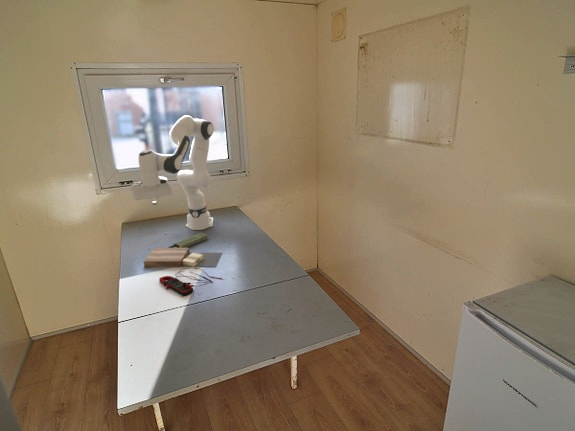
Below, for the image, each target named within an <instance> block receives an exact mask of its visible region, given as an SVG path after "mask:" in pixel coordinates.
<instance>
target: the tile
mask: <svg viewBox="0 0 575 431" xmlns="http://www.w3.org/2000/svg"><path fill="white" fill-rule="evenodd" d="M191 253H192V254H189V256H188V257H186V258H185V259H184V260H182V264H183V265H186V266H192V267H191V268H195V267H194V266H195V265H197V264H198V263H199V262H200V261H201V260H203V259H204V254H198V253H199V252H191ZM183 265H182V266H183Z"/></svg>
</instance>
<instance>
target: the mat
mask: <svg viewBox="0 0 575 431" xmlns="http://www.w3.org/2000/svg"><path fill="white" fill-rule="evenodd" d="M192 253H193V252H190V254H192ZM197 253H198V254H204V259H203V260H201V261H200V262H199V263H198V264H197V265H195V266H194V267H192V266H186V265H182V267H181V268H216V267H217V265H218V262H219V261H220V258H221V256H222V252H197ZM190 254H189V255H190Z"/></svg>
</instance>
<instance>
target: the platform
mask: <svg viewBox="0 0 575 431" xmlns="http://www.w3.org/2000/svg"><path fill="white" fill-rule="evenodd" d="M190 253H191V250H190V247H186V248H177V247H174V248H168V247H154V248H153V249H152V251H151V252H150V253H149V254H148V256H147V257H146V258H145V259H144V260H143V265H144V268H183V267H182V266H183V264H182V260H184V259H185V258H186V257H188V256H189V255H190Z"/></svg>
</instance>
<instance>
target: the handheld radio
mask: <svg viewBox="0 0 575 431" xmlns="http://www.w3.org/2000/svg"><path fill="white" fill-rule="evenodd" d="M208 237H209V236H208V235H207V234H205V233H202V232H199V233H196V234H194V235H191V236H189V237H187V238H185V239H182V240H179V241H177V242H175V243H174V244H173V245H171V246H168V247H167V248H189V247H191V246H194V245H195V244H197V243H201V242H203V241H205V240H207V239H208Z"/></svg>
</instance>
